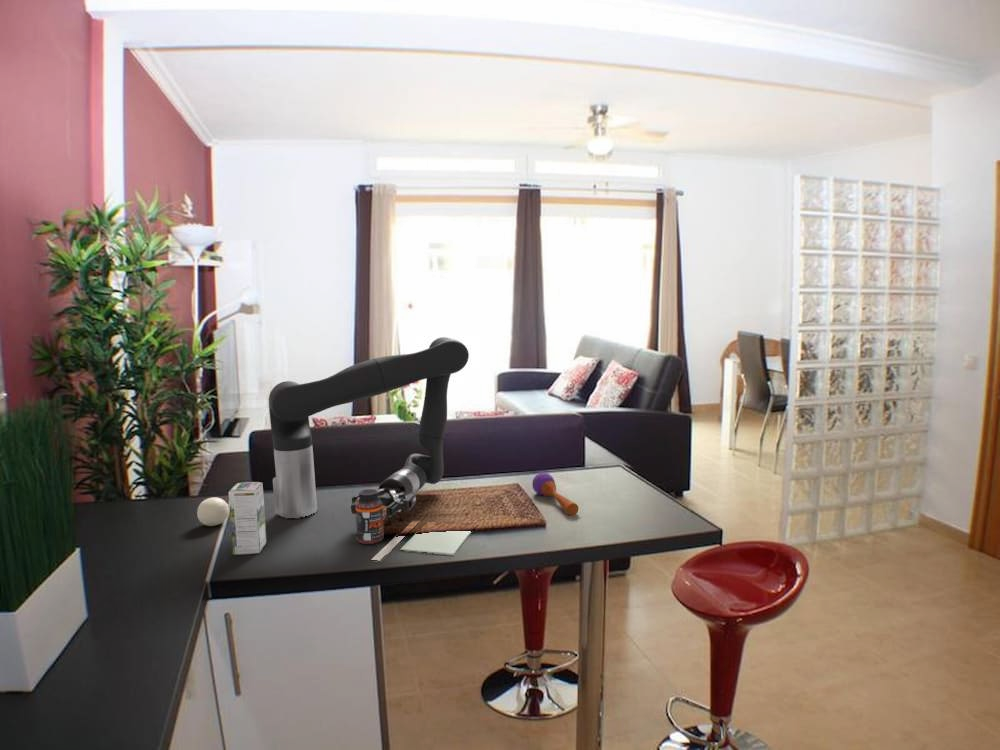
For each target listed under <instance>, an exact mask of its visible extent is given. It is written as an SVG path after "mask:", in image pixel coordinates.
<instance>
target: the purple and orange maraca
mask: <svg viewBox="0 0 1000 750" xmlns="http://www.w3.org/2000/svg"><path fill="white" fill-rule="evenodd" d="M532 489H533V491H534V492H536V494H538V495H539V496H544V497H554V499H555V500H556V501H557V503H558V504H559V505H560V507H561V508H562V509H563V511H564V512H565V513H566V515H568V516H575V515H577V514H578V511H579V506H578V504H576V503H575V502H574V501H573V500H570V499H568V498H567V497H565V496H563V495H561V494H560V493H558V492H557V485H556V481H555V479H554V477H553V476H552V475H551V474H550V473H547V472H539V473H538V474H536V475H535V476H534V477H533V479H532Z"/></svg>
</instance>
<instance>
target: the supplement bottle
mask: <svg viewBox="0 0 1000 750" xmlns="http://www.w3.org/2000/svg"><path fill="white" fill-rule="evenodd" d="M377 490H378V489H374V488H370V489H369V488H368V489H366V490H364V489H362V490H360V491H359V492H358V493H359V498H360V499H359V501H357V503H356V514H355V521H356V522H355V523H356V524H355V525H356V539H357V541H358V543H360V544H363V545H374V543H375V544H378V543H380V542H381V541H383V539H384V538H385V537H384V536H385V532H384V529H385V527H384V510H383V507H384V506H382V501H381V500H380V499H379V498H378V493H377Z"/></svg>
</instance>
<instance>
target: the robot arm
mask: <svg viewBox="0 0 1000 750" xmlns="http://www.w3.org/2000/svg"><path fill="white" fill-rule="evenodd" d="M469 357H470V353H469V350H468V348H467V347H466V345H465V344H464V343H463V342H461V341H460V340H458V339H455V338H451V337H446V336H445V337H443V336H442V337H437V338H436V339H434V340H433V341H432V342H431V343H430V345H429V347H428V348H426V349H422V350H421V351H417V352H412V353H404V354H403V353H402V354H395V355H394V354H393V355H388V356H381V357H380V356H379V357H375V358H372V359H368V360H365V361H361V362H358V363H355V364H352V365H350V366H348V367H346V368H344V369H342V370H340V371H338V372H336V373H334V374H333V375H330V376H328V377H326V378H323V379H319V380H314V381H310V382H306V383H301V384H300V383H298V382H296V381H291V380H288V381H287V380H285V381H282V382H279V383H277V384H276V385H275V386H273V387H272V389H271V391H270V393H269V396H268V409H269V410H268V411H269V420H270V421H269V422H270V431H271V438H272V445H273V446H272V447H273V457H274V468H275V477H273V478H272V489H273V490H272V491H273V500H274V502H273V503H274V511H275V515H276V514H278V515H277V516H279V515H280V516H282V517H286V518H285V519H287V518H295V519H301V518H300V517H303V518H306V517H305V516H307V517H310V516H311V514H312V515H314V514H316V512H318V505H317V504H318V502H317V491H316V490H317V489H316V477H315V464H314V462H315V461H314V451H313V450H314V449H313V437H312V431H311V426H310V417H312V416H314V415H315V414H318V413H320V412H323V411H325V410H328V409H330V408H334V407H337V406H340V405H345V404H350V403H354V402H357V401H361V400H365V399H369V398H373V397H375V396H379V395H382V394H383V395H384V394H385V393H388V392H391V391H394V390H397V389H400V388H403V387H405V386H409V385H411V384H414V383H416V382H419V381H423V380H426V382H425V392H424V400H423V406H422V412H421V416H420V421H419V426H418V432H417V436H416V442H417V444H418V445H419V446H420V447H422V448H424V449H426V450H427V451H428V452H429V454H430V455H425V454H421V453H411V454H409V456H408V457H407V458H406V461H405V463H404V465H403V467H402V468H401V469H400V470H397V471H396V472H394V473H393V474H391V475H390V476H388V477H387V478H385V479H384V480H383V481H382V482H381V483H380V484H379V486H378V488H377V489H376V490H377V493H378V498H379V499H380V500H381V501H382V507H386V517H389V518H390V517H392V516H393V515H395V514H396V513H400V512H401V511H402V510H403V511H404V512H410V510H411V509H412V508H413V507H414V506H415V505H416V504H417V500H416V499H417V497H416V494H417V492H418V491H419V490H421V489H422V488H423V487H424V486H425V484H430V485H436V484H438V483H439V482H440V481H441V480H442V478H443V476H444V470H445V469H444V455H443V450H444V449H443V442H444V437H445V432H446V427H447V420H448V388H449V382H450V378H451V375H452V374H455V373H458V372H460V371H462V370H463V369H464V367H465V366H466V365H467V364H468V361H469ZM363 490H366V489H365V488H364V489H363ZM359 499H360V498H359V492H357V493H356V494H354V495H352V496H351V505H350V512H351V514H352V515H356V503H357V501H359ZM313 513H314V514H313ZM309 515H310V516H309ZM280 516H279V517H280ZM282 517H281V518H282Z"/></svg>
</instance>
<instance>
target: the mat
mask: <svg viewBox="0 0 1000 750" xmlns="http://www.w3.org/2000/svg"><path fill="white" fill-rule="evenodd" d="M471 534H472V532H471V531H446V532H429V533H422V534H416V533H415V534H414V535H413V536H412V537H410V538H409V540H408V541H407V542H406V543H405V544H404V545H402V546H401V548H400V551H401V550H411V551H418V552H417V553H421V552H427V553H426V554H432V553H434V554H435V555H444V554H445V556H454V555H455V554H456V553H457V552H458V550H459V549H460V548H461V547H462V545H463V544H464V543H465V541H466V540H467V538H469V536H470V535H471Z"/></svg>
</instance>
